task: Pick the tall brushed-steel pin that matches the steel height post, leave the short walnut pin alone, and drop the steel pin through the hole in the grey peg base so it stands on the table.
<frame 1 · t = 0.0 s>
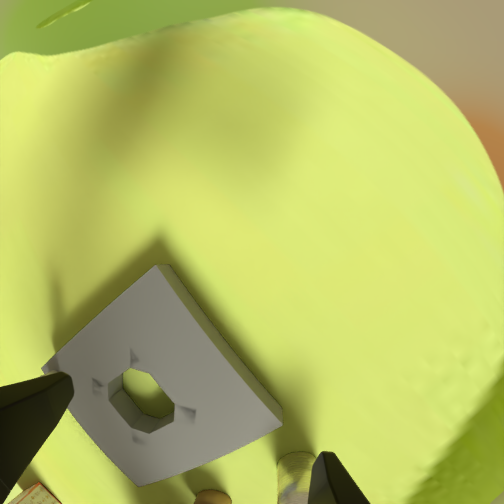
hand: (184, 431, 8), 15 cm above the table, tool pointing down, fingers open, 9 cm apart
short pin: (214, 499, 23), on the table
grey peg base: (152, 389, 23), on the table
cracker box: (42, 497, 24), on the table
long pin: (297, 465, 22), on the table
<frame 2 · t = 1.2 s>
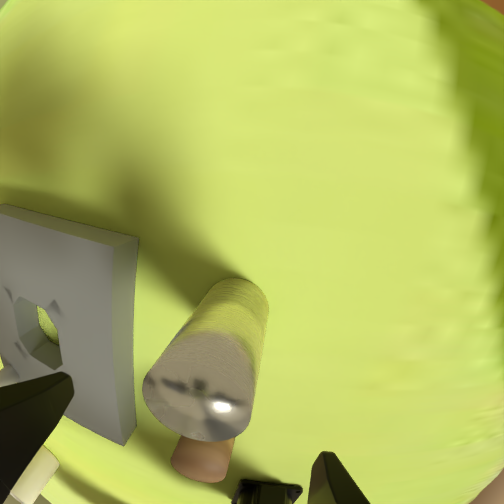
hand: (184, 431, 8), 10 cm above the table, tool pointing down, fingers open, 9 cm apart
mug: (41, 446, 28), on the table
short pin: (213, 423, 20), on the table
grey peg base: (57, 320, 20), on the table
long pin: (236, 308, 18), on the table
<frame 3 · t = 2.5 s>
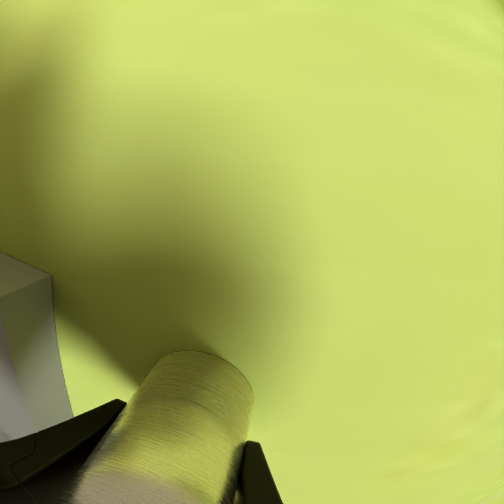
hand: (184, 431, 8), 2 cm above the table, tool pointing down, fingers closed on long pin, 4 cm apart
long pin: (200, 394, 10), on the table, touching gripper
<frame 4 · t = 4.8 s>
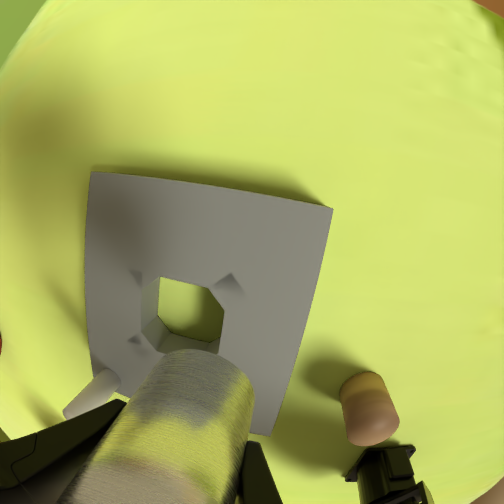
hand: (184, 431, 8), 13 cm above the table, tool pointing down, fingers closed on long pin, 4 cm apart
short pin: (362, 390, 21), on the table
grey peg base: (193, 305, 21), on the table
long pin: (201, 393, 10), point 11 cm above the table, touching gripper
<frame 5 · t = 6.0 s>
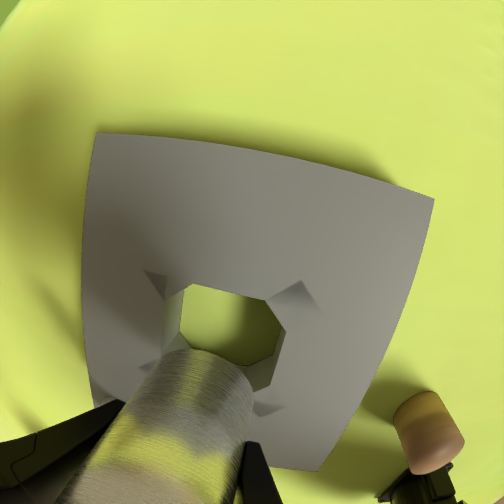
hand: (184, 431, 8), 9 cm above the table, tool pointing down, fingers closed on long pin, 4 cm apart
short pin: (417, 411, 16), on the table
grey peg base: (229, 320, 16), on the table
long pin: (200, 393, 10), point 7 cm above the table, touching gripper
when the fingers open (4 cm above the table, at t = 7.1 s): long pin drops 2 cm, resting in grey peg base.
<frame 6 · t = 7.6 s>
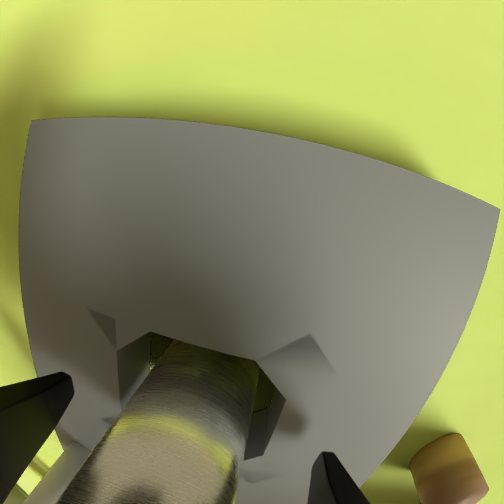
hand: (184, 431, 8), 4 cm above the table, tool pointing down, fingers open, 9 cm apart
short pin: (436, 453, 12), on the table
grey peg base: (211, 366, 12), on the table
long pin: (213, 365, 12), resting in grey peg base
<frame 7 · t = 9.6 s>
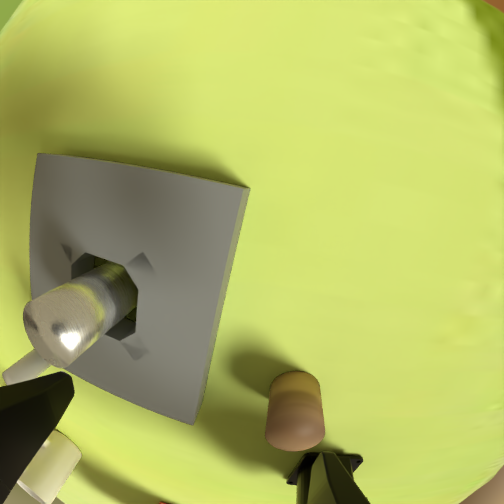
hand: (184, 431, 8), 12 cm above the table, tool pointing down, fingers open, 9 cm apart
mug: (62, 436, 29), on the table
short pin: (294, 390, 21), on the table
grey peg base: (122, 284, 20), on the table
long pin: (123, 283, 20), resting in grey peg base
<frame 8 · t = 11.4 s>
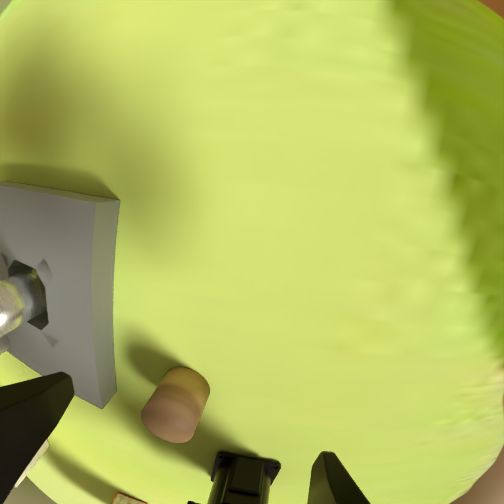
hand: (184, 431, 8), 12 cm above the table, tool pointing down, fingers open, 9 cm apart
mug: (32, 426, 29), on the table
short pin: (186, 385, 22), on the table
grey peg base: (47, 285, 22), on the table
long pin: (48, 284, 22), resting in grey peg base
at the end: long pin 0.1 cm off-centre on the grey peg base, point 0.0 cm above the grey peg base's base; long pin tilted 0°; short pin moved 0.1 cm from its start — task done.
